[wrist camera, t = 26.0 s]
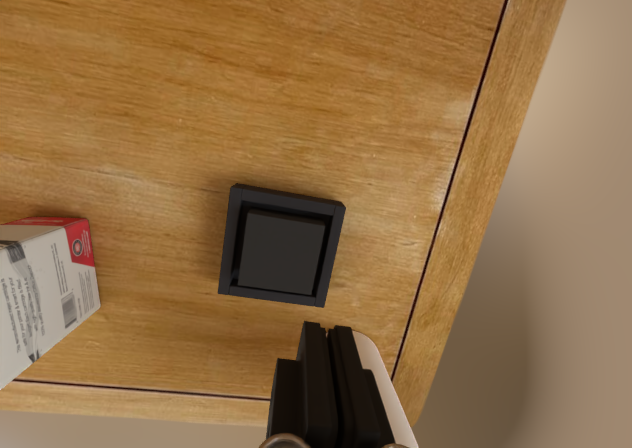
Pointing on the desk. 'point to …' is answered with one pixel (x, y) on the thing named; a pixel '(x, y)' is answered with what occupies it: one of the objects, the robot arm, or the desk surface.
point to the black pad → (280, 250)
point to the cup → (385, 390)
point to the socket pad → (286, 202)
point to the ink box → (42, 287)
